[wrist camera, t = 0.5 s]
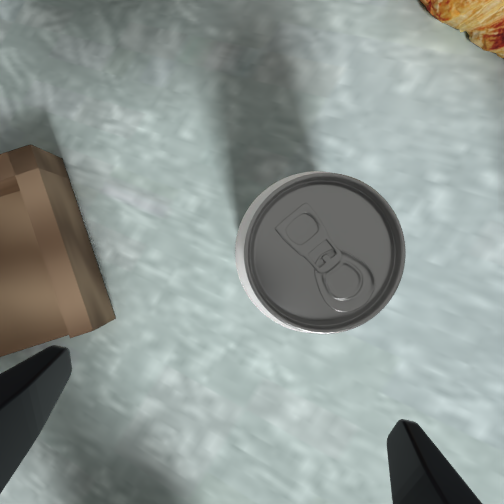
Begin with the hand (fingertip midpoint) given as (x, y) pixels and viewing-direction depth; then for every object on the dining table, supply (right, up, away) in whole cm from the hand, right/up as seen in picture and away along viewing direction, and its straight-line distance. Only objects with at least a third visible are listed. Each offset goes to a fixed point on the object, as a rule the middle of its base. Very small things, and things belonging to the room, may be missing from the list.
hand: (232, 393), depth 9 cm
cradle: (-16, +3, +15) cm, 22 cm away
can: (+3, +4, +15) cm, 16 cm away
